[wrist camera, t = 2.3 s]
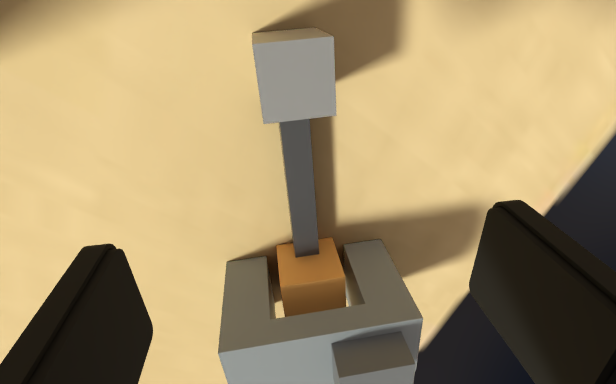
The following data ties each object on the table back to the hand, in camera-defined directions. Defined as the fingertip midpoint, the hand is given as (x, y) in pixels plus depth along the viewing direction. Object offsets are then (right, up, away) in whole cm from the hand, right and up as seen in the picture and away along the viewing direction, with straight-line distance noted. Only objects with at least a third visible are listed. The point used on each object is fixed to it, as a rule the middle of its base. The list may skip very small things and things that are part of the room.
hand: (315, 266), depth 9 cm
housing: (0, -6, +23) cm, 24 cm away
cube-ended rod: (-1, +3, +18) cm, 19 cm away
